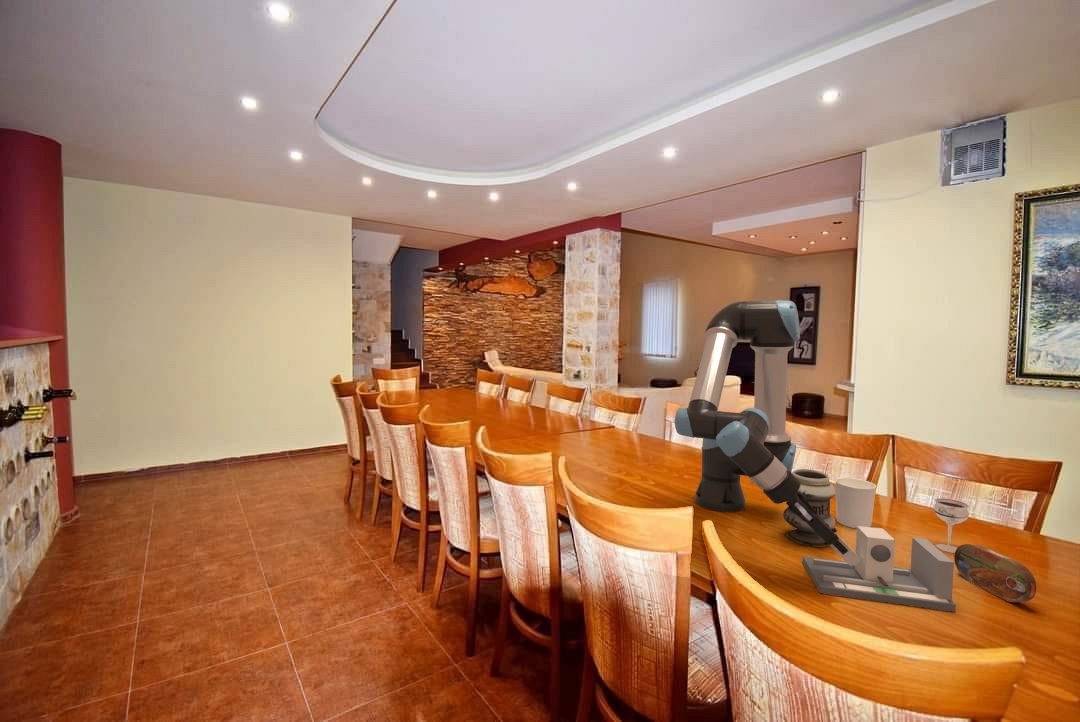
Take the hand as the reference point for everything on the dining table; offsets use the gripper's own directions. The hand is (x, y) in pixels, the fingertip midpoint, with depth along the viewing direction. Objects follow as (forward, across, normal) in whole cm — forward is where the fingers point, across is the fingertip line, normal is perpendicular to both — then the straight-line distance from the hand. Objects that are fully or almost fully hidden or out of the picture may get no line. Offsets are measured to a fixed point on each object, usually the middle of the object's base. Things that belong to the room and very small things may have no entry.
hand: (854, 561), depth 103 cm
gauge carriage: (+5, +1, 0) cm, 5 cm away
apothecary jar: (+1, -22, -6) cm, 23 cm away
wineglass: (+25, -26, +17) cm, 40 cm away
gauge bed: (+6, 0, -1) cm, 6 cm away
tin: (+23, -5, +16) cm, 29 cm away
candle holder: (+12, -37, +5) cm, 39 cm away
